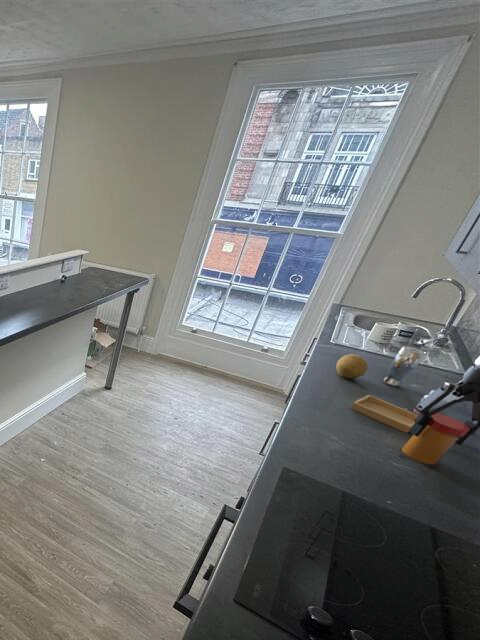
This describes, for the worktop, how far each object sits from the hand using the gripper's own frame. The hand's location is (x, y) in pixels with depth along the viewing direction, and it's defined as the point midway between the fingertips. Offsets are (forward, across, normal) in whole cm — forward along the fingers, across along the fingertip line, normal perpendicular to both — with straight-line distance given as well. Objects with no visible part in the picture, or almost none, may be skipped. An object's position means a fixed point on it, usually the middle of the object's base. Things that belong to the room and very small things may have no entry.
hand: (434, 437), depth 115 cm
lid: (-5, 0, 0) cm, 5 cm away
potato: (+7, -6, -55) cm, 56 cm away
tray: (+7, -4, -24) cm, 25 cm away
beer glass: (+7, -23, -57) cm, 62 cm away
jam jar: (+7, 0, 0) cm, 7 cm away
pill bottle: (+7, -20, -32) cm, 39 cm away
